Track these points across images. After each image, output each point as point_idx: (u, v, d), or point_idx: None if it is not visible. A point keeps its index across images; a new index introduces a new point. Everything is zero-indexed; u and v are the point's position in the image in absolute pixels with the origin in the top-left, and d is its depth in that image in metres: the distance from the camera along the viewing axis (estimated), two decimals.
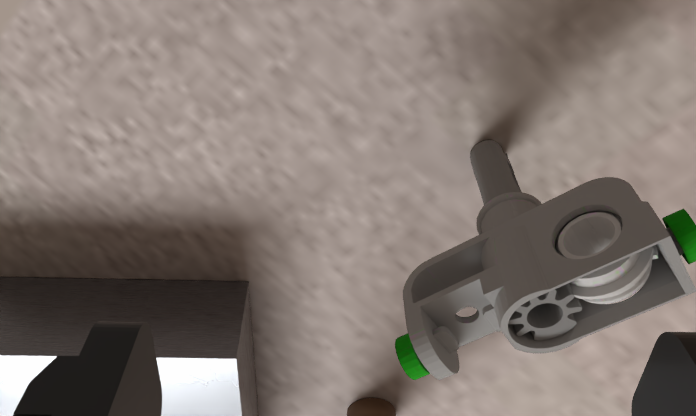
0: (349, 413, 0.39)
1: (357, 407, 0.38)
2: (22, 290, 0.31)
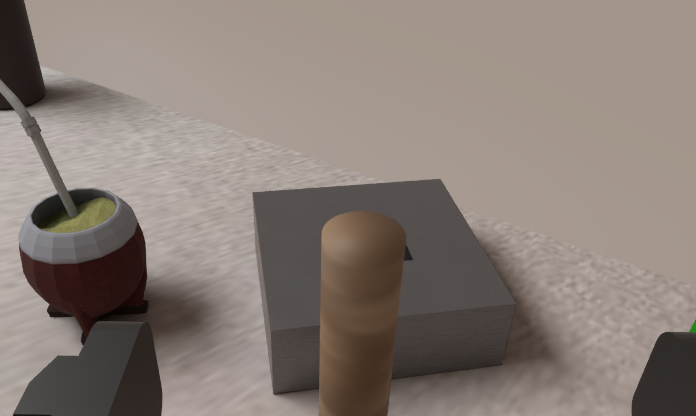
0: None
1: None
2: None
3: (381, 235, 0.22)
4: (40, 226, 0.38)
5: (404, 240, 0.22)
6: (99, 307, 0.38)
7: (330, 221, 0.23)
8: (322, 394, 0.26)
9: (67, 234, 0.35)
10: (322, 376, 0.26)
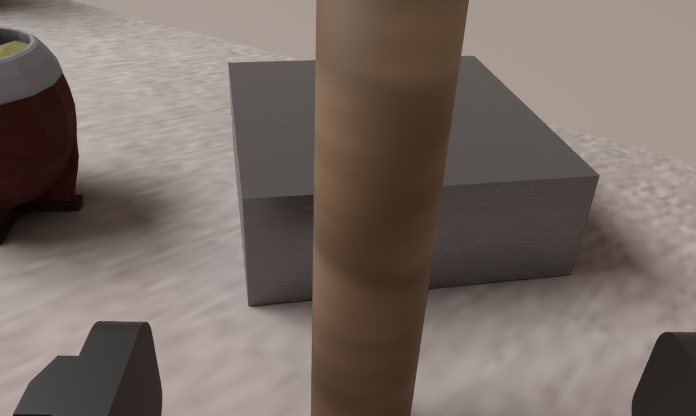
0: None
1: None
2: None
3: None
4: None
5: None
6: (3, 186, 0.27)
7: None
8: (318, 240, 0.15)
9: None
10: (319, 202, 0.14)
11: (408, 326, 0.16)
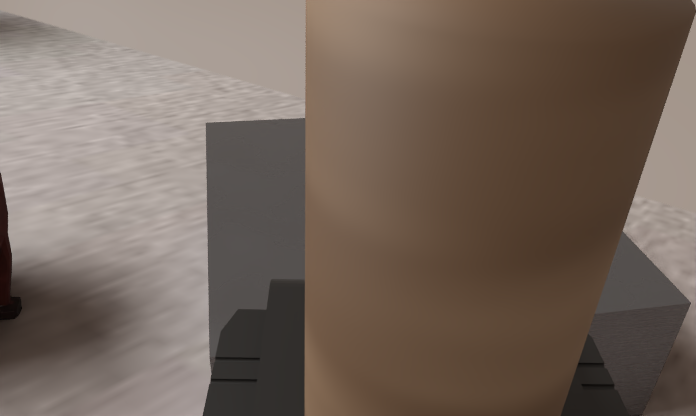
0: None
1: None
2: None
3: None
4: None
5: None
6: None
7: None
8: None
9: None
10: None
11: None
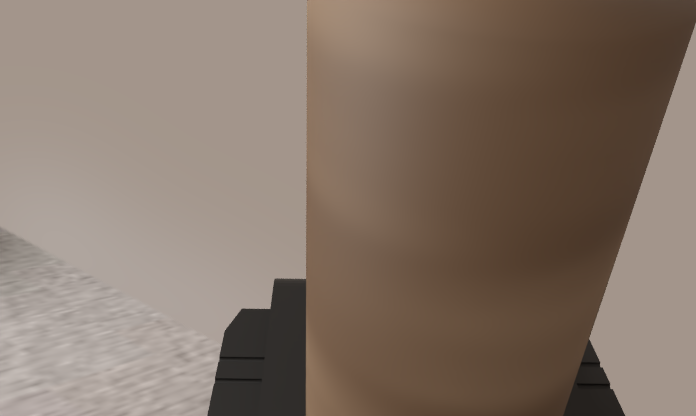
0: None
1: None
2: None
3: None
4: None
5: None
6: None
7: None
8: None
9: None
10: None
11: None
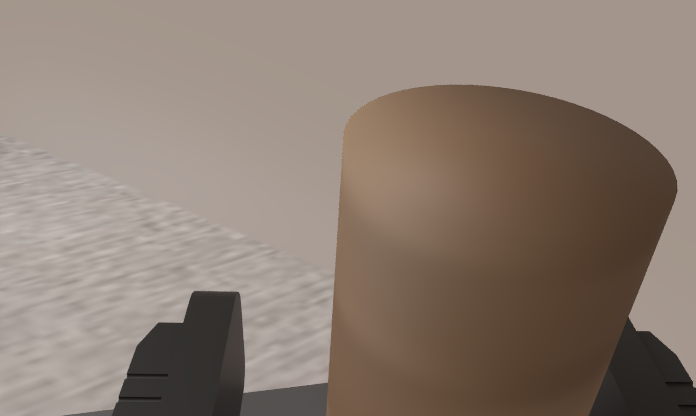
0: None
1: None
2: None
3: (570, 151, 0.06)
4: None
5: (666, 169, 0.06)
6: None
7: (372, 106, 0.06)
8: None
9: None
10: None
11: None
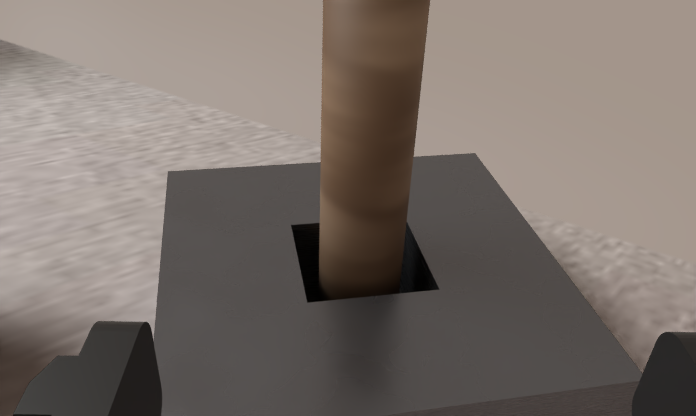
0: None
1: None
2: None
3: None
4: None
5: None
6: None
7: None
8: (324, 185, 0.20)
9: None
10: (324, 156, 0.20)
11: (391, 251, 0.21)
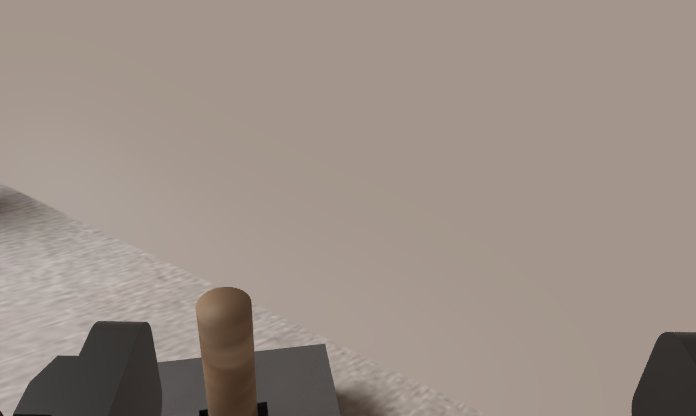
0: None
1: None
2: None
3: (234, 305, 0.35)
4: None
5: (249, 309, 0.35)
6: None
7: (204, 295, 0.35)
8: (208, 407, 0.38)
9: None
10: (206, 395, 0.38)
11: None
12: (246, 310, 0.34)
